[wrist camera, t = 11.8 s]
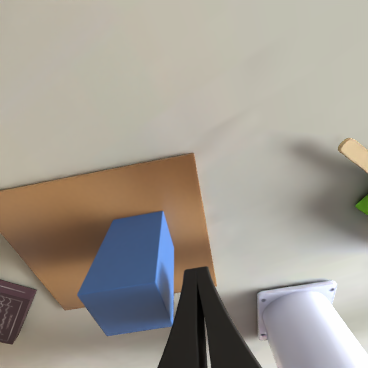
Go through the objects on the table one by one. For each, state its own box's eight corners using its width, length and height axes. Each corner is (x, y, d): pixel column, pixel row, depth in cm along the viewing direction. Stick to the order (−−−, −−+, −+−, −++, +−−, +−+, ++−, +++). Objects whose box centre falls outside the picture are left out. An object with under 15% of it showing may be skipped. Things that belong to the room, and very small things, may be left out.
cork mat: (216, 283, 19) (216, 286, 19) (66, 307, 20) (64, 310, 19) (193, 152, 13) (193, 153, 12) (-25, 195, 13) (-30, 197, 13)
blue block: (174, 248, 16) (173, 326, 11) (129, 255, 16) (106, 336, 11) (163, 210, 14) (155, 282, 9) (112, 219, 14) (76, 295, 9)
